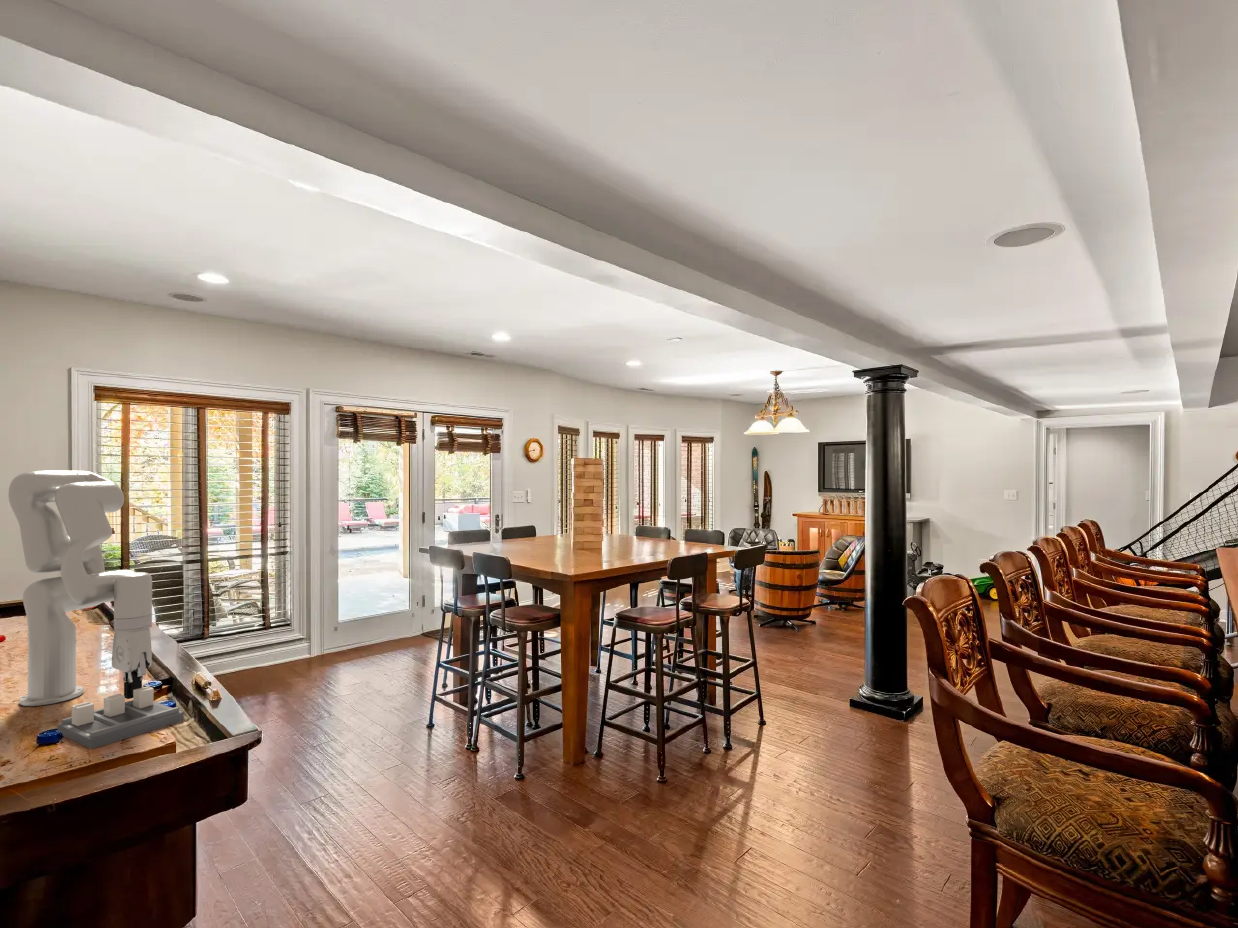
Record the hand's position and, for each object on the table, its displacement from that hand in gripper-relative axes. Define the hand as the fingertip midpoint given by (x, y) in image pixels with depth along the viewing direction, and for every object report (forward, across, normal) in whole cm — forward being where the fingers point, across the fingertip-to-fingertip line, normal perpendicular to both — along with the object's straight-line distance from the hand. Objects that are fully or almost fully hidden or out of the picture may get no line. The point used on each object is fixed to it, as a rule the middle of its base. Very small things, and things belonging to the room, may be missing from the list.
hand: (133, 696), depth 157 cm
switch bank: (+3, +9, -6) cm, 12 cm away
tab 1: (+1, +5, -12) cm, 13 cm away
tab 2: (+1, +5, -6) cm, 8 cm away
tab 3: (+1, +5, 0) cm, 5 cm away
